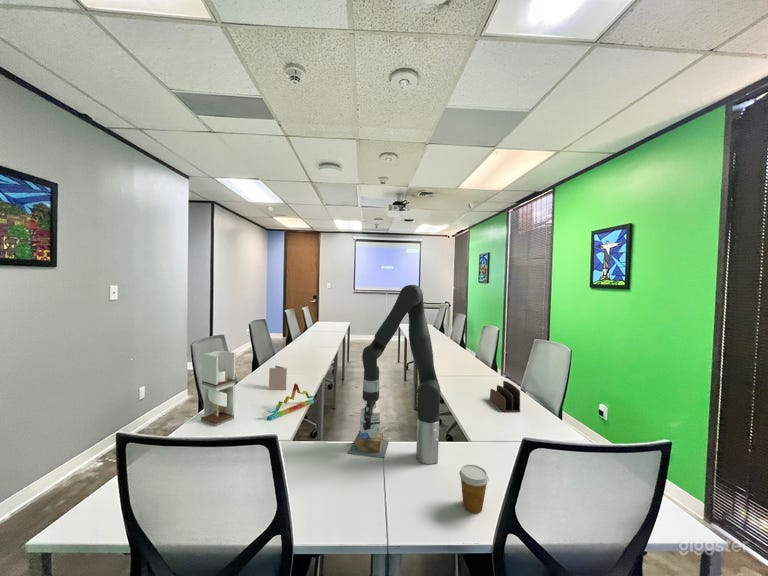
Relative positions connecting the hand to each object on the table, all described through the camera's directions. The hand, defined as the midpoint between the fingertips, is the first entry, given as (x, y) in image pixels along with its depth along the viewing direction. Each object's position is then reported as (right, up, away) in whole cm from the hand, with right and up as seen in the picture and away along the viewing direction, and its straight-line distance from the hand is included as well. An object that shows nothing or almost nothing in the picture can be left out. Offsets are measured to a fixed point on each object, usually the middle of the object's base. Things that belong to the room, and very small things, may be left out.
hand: (369, 424), depth 140 cm
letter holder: (+82, -13, +54) cm, 99 cm away
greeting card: (-66, -7, +70) cm, 96 cm away
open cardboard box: (0, -10, 0) cm, 10 cm away
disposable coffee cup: (+36, -13, -35) cm, 52 cm away
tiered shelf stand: (-81, -8, +22) cm, 84 cm away
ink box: (0, -5, 0) cm, 5 cm away
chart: (-46, -9, +37) cm, 60 cm away
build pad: (0, -11, 0) cm, 11 cm away
